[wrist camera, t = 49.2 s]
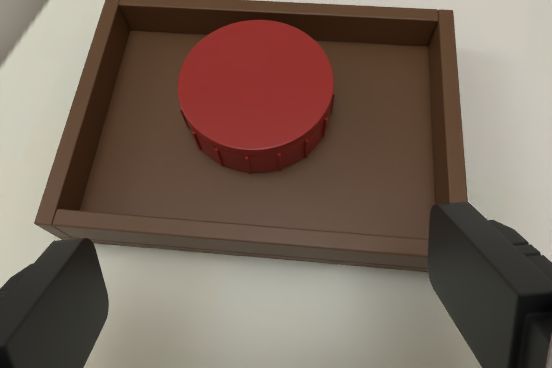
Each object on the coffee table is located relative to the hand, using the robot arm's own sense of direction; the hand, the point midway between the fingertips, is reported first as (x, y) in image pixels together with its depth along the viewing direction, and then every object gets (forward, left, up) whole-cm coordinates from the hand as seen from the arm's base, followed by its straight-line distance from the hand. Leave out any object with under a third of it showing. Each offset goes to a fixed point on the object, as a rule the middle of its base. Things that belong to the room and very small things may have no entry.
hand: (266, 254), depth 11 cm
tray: (-1, +6, -5) cm, 8 cm away
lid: (-1, +7, -3) cm, 8 cm away
